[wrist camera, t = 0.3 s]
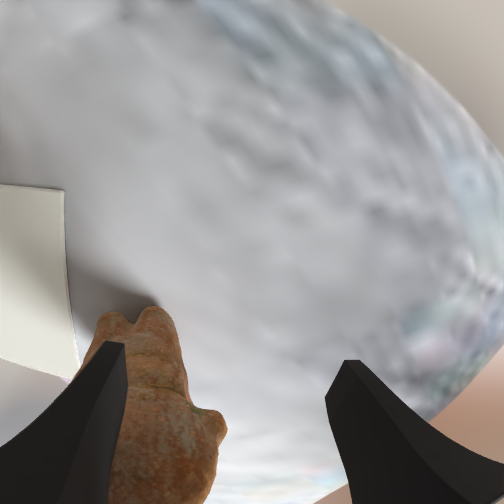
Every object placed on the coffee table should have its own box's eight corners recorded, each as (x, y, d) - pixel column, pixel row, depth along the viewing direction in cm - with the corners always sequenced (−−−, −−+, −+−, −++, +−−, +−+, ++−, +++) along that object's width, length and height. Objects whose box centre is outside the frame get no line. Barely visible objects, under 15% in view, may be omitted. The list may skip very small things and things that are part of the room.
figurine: (117, 357, 22) (107, 553, 9) (68, 271, 17) (-4, 516, 5) (225, 338, 22) (266, 551, 10) (198, 241, 18) (233, 546, 5)
